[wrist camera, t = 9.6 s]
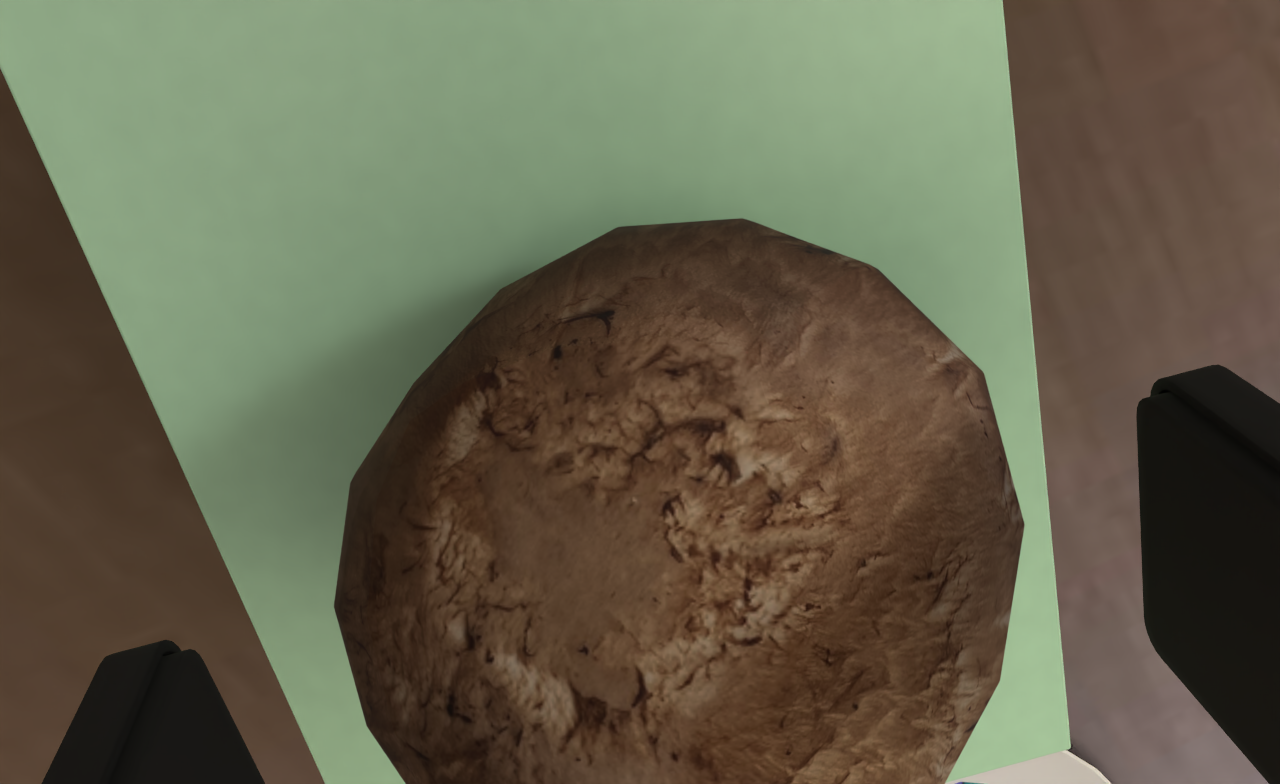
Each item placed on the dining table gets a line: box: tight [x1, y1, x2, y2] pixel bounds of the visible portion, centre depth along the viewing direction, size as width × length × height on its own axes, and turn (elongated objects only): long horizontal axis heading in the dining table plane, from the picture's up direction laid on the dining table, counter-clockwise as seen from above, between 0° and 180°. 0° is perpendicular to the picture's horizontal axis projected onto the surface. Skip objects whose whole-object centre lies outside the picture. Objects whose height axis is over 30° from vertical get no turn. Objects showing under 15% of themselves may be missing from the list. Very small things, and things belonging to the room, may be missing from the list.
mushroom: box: [334, 218, 1025, 784], centre depth 14 cm, size 8×8×6 cm
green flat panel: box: [0, 0, 1071, 784], centre depth 16 cm, size 15×12×1 cm
